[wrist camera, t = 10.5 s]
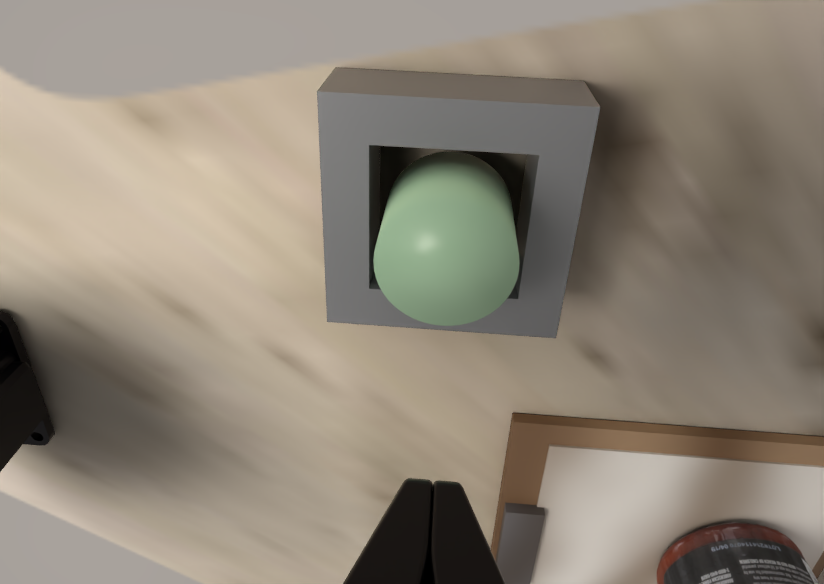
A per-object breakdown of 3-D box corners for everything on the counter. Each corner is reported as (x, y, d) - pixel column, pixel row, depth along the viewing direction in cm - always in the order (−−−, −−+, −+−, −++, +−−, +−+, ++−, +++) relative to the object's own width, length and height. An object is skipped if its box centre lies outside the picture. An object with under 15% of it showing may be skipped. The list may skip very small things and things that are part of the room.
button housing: (341, 278, 22) (326, 321, 20) (335, 67, 18) (317, 91, 16) (546, 292, 21) (555, 338, 19) (583, 80, 18) (600, 106, 16)
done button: (386, 261, 19) (372, 320, 17) (388, 147, 18) (373, 193, 15) (504, 269, 19) (510, 330, 17) (519, 155, 17) (528, 203, 15)
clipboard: (479, 621, 32) (479, 640, 31) (512, 413, 24) (514, 431, 24) (764, 647, 31) (772, 668, 30) (887, 442, 24) (903, 462, 23)
